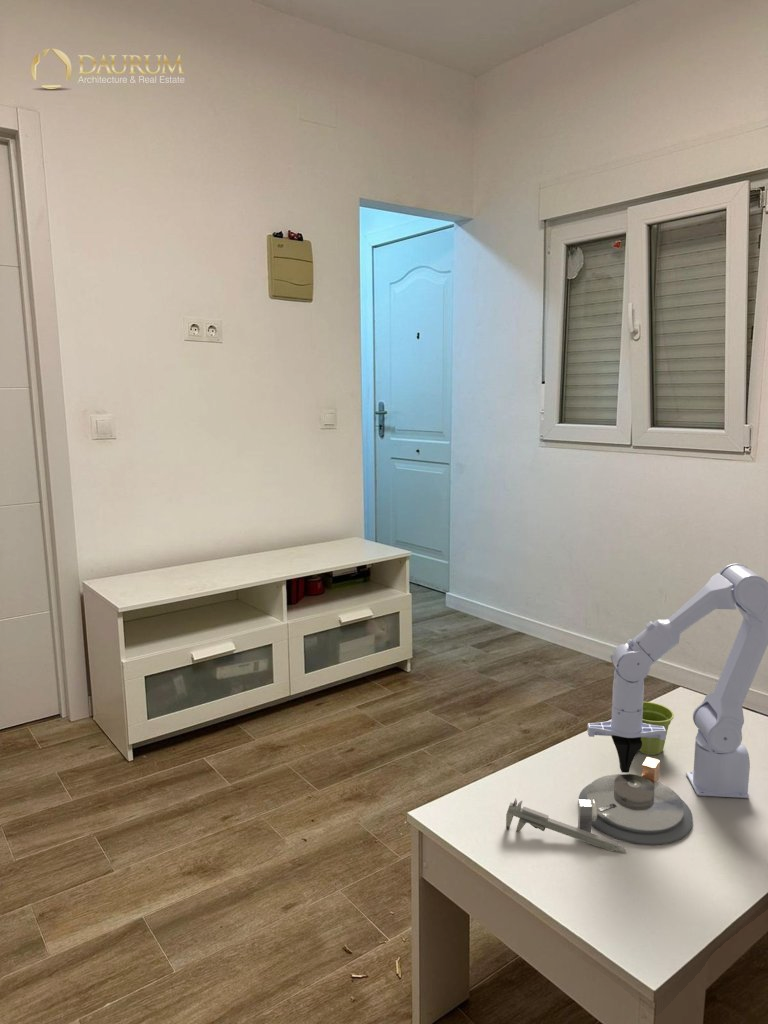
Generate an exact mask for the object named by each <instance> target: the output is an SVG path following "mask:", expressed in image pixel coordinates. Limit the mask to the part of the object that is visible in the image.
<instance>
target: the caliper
mask: <svg viewBox="0 0 768 1024" xmlns="http://www.w3.org/2000/svg"><path fill="white" fill-rule="evenodd" d="M522 805H523V800H521V801H519V802H518V800H517V798H516V797H515V799H514V801H513V802H510V803H509V806H508V808H507V810H506V815H505V816H506V819H505V828H506V830H507V831H509V830H510V828H511V824H512V822H513V818H514V817H516V818H517V819H519V820H518V822H517V826H516V829H515V833H520V832H521V830H522V829H523V828H524V826H525V825H526V824H530V825H531V826H532V827H533V828H534V829H538V830H540V831H541V832H545V830H546V829H548V830H550V831H551V830H552V831H554V832H557V833H558V834H561V835H565V836H568V837H571V838H574V839H577V840H579V841H581V842H584V843H587V844H590V845H593V846H594V847H598V848H600V849H603V850H606V851H610V852H615V853H618V852H619V853H622V854H626V852H627V849H626V848H625V847H624V846H621V845H620V843H619V842H617V841H614V840H611V839H609V838H606V837H604V836H601V835H598V834H595V833H593V832H591V833H590V832H587V831H584V830H581V829H579V828H578V827H576V826H573V825H570V824H567V823H564V822H561V821H558V820H556V819H553V818H550V817H549V814H545V813H543V812H539V811H537V810H535V809H531V808H530V807H526V806H522Z"/></svg>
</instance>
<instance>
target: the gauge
mask: <svg viewBox="0 0 768 1024" xmlns="http://www.w3.org/2000/svg"><path fill="white" fill-rule="evenodd" d="M578 800H579V799H578ZM577 812H578V813H577V815H578V816H577V817H578V818H577V828H579V829H581V830H584V831H587V832H590V833H592V826H591V824H592V821H597V803H596V800H595V799H590V800H579V805H578V811H577Z"/></svg>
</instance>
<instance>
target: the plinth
mask: <svg viewBox="0 0 768 1024" xmlns="http://www.w3.org/2000/svg"><path fill="white" fill-rule="evenodd" d="M590 784H591V783H589V784H588V785H586V786H585V787H584V788H583V789H582V790H581V791H580V793H579V795H578V801H577V802H578V803H577V804H578V805H577V806H579V800H587V790H588V787H589V785H590ZM681 800H682V802H683V804H684V818H683V821H682V823H681V824H680V825H679V826H678V827H676V828H675V829H673V830H671V831H668V832H665V833H659V834H639V833H633V832H628V831H624V830H621V829H618V828H616V827H613V826H611V825H609V824H607V823H605V822H603V821H602V820H601V819H599V818H598V817H597V821H592V824H591V827H593V829H595V830H597V831H599V832H601V833H602V834H603V835H606V836H608V837H611V838H613V839H615V840H618V841H622V842H624V843H629V844H634V845H641V846H662V845H667V844H672V843H675V842H678V841H680V840H681V839H682V840H683V838H685V837H686V836H687V835H689V833H690V832H691V830H692V827H693V819H694V818H693V813H692V810H691V809H690V807H689V805H688V804H687V803H686V802H685V801H684V800H683V799H682V798H681Z"/></svg>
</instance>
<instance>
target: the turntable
mask: <svg viewBox="0 0 768 1024" xmlns="http://www.w3.org/2000/svg"><path fill="white" fill-rule="evenodd" d="M660 763H661V760H660V759H657V758H653V757H649V756H646V758H645V759H644V761H643V763H642V765H641V776H642V777H645V778H647V779H648V780H650V781H651V782H652V783H653V784H654V787H655V790H654V804H653V806H652V807H651V808H649V809H646V810H633V809H629V808H626V807H623V806H621V805H620V804H618V803H617V802H616V801H615V799H614V782H615V779H616V778H617V777H618V776H620V775H624V773H620V774H619V773H618V774H609V775H604V776H601V777H599V778H596V779H595V780H594V781H592V782H590V783H589V784H590V785H589V784H588V785H589V787H588V790H587V800H590V799H595V800H596V803H597V817H598V818H599V819H601V820H602V821H603V822H605V823H607V824H609V825H611V826H613V827H616V828H618V829H621V830H624V831H628V832H633V833H639V834H659V833H665V832H668V831H671V830H673V829H675V828H676V827H678V826H679V825H680V824H681V823H682V821H683V818H684V804H683V802H682V800H683V799H682V798H681V797H680V795H679V794H678V793H677V792H675V791H674V790H673V789H672V788H670V787H669V786H667V785H665V784H664V783H662V782H659V781H658V780H659V779H660V767H661V766H660ZM681 799H682V800H681Z"/></svg>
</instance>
